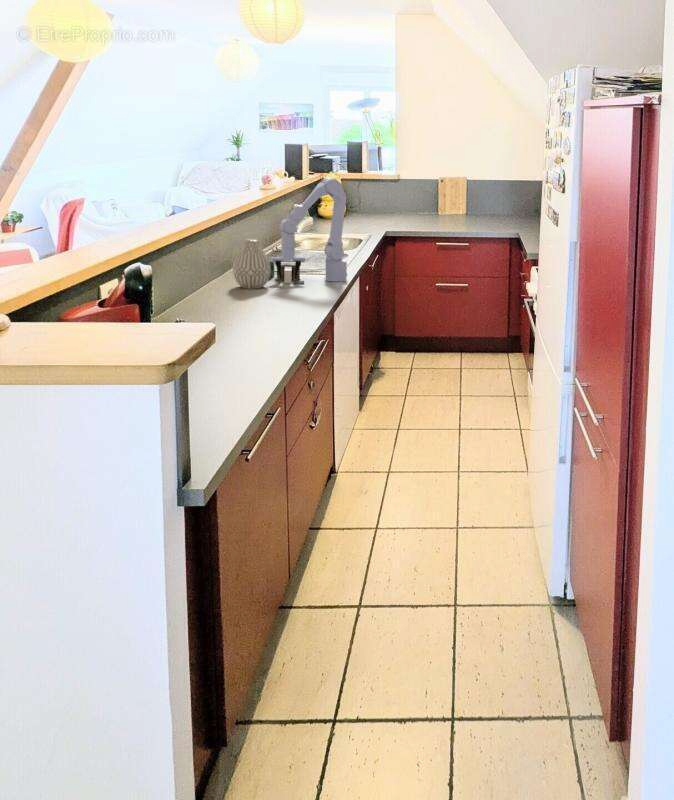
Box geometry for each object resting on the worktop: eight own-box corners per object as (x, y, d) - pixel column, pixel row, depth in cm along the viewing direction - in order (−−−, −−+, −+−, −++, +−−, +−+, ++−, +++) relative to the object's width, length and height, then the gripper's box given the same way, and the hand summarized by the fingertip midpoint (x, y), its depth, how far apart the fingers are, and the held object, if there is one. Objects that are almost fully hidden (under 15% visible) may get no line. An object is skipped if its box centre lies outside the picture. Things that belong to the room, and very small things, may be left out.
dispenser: (299, 277, 442) (299, 261, 440) (299, 280, 434) (299, 264, 432) (277, 276, 441) (277, 261, 439) (276, 279, 434) (276, 264, 432)
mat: (304, 281, 430) (304, 280, 430) (304, 284, 424) (304, 283, 424) (292, 281, 429) (292, 280, 429) (292, 284, 424) (292, 283, 424)
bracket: (260, 275, 445) (259, 258, 443) (274, 276, 444) (274, 258, 442) (247, 282, 429) (247, 264, 426) (262, 283, 427) (262, 264, 425)
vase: (256, 292, 405) (255, 243, 399) (225, 288, 413) (224, 240, 407) (278, 286, 418) (278, 239, 412) (247, 282, 426) (247, 236, 420)
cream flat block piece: (292, 278, 439) (291, 266, 437) (291, 283, 427) (291, 270, 426) (285, 278, 439) (285, 266, 437) (284, 283, 427) (284, 270, 426)
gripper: (304, 246, 429) (304, 277, 433) (271, 245, 429) (271, 276, 433) (304, 248, 422) (304, 279, 426) (271, 248, 422) (271, 279, 426)
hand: (288, 278), depth 429 cm, fingers open, 6 cm apart
